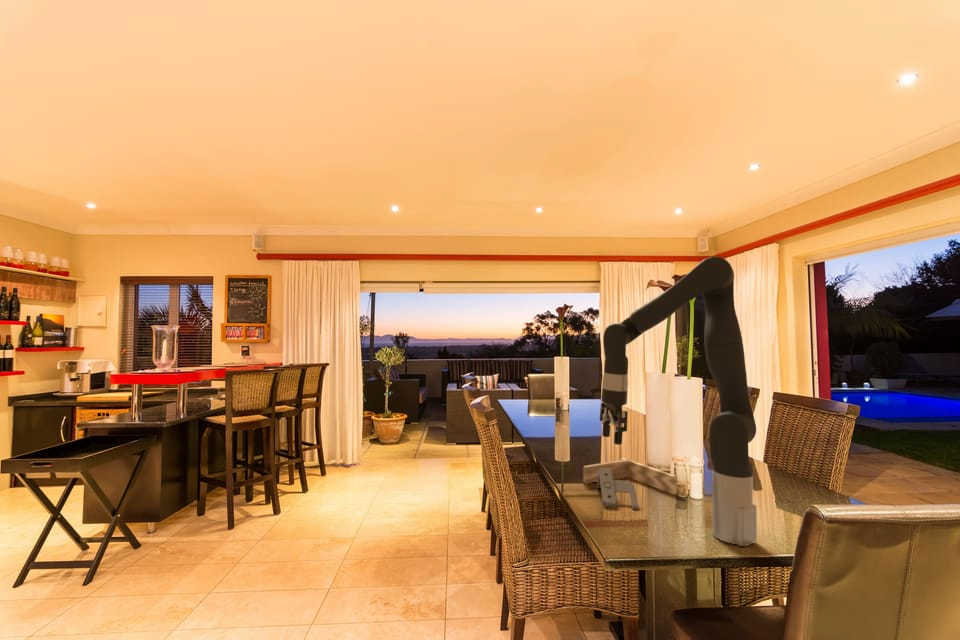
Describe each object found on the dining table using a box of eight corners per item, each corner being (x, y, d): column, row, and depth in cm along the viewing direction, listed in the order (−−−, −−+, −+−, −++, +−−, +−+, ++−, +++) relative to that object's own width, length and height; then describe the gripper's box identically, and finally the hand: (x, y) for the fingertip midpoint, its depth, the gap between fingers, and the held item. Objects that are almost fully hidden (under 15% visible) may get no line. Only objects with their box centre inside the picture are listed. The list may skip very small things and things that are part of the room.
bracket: (628, 490, 149) (631, 469, 145) (635, 527, 136) (639, 505, 132) (596, 488, 151) (598, 467, 146) (601, 524, 138) (603, 502, 133)
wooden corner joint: (676, 493, 147) (676, 475, 147) (629, 504, 137) (630, 485, 137) (623, 473, 168) (623, 457, 168) (579, 481, 157) (579, 464, 158)
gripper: (637, 392, 128) (634, 447, 128) (616, 385, 142) (613, 434, 142) (613, 391, 127) (609, 446, 127) (594, 384, 141) (591, 433, 141)
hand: (611, 440), depth 134 cm, fingers open, 8 cm apart
